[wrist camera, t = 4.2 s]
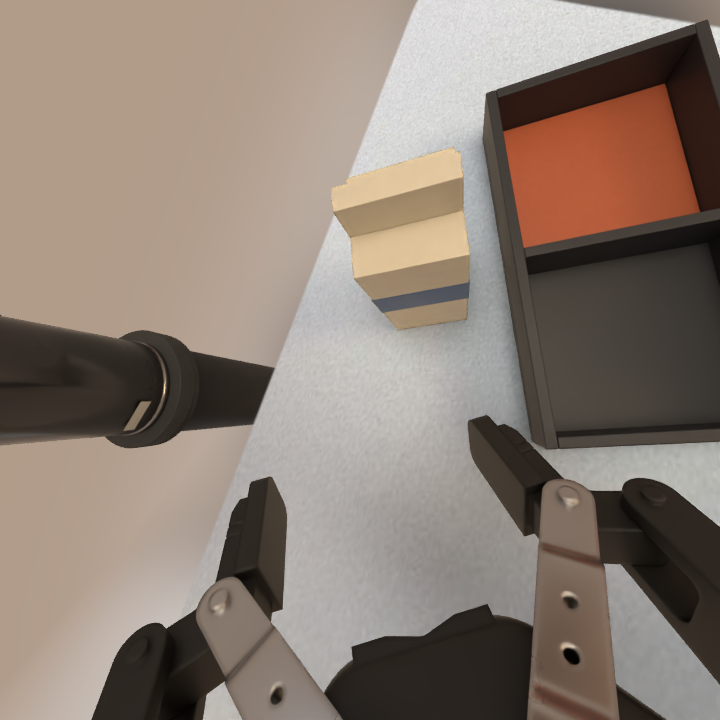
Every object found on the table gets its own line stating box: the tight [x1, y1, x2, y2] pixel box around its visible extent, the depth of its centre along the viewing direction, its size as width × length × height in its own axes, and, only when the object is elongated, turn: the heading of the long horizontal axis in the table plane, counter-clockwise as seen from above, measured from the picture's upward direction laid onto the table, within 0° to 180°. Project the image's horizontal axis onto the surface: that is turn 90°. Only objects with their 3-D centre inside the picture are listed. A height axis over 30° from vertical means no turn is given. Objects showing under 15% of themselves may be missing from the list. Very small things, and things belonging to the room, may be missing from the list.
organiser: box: [483, 20, 720, 449], centre depth 22 cm, size 13×25×4 cm, turn 5°
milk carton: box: [331, 147, 470, 330], centre depth 21 cm, size 6×6×14 cm
